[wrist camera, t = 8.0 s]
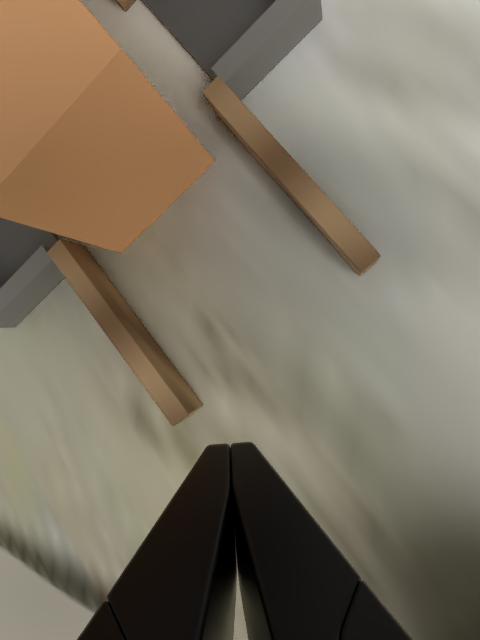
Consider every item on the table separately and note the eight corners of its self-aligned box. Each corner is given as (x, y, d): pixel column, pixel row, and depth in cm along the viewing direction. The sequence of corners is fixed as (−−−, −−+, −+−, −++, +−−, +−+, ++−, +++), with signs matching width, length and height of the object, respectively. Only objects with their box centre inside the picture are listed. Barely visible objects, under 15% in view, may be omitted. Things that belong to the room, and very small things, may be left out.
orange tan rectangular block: (216, 161, 21) (121, 48, 12) (122, 253, 22) (-23, 210, 14) (57, -23, 23) (-116, -227, 15) (-19, 70, 25) (-218, -66, 16)
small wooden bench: (377, 261, 19) (384, 246, 15) (189, 416, 21) (152, 438, 17) (57, -93, 23) (-1, -176, 19) (-68, 68, 26) (-142, 23, 22)
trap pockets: (322, 18, 19) (319, -15, 17) (15, 327, 24) (-15, 327, 22) (207, -96, 21) (193, -138, 19) (-61, 215, 25) (-95, 207, 23)
